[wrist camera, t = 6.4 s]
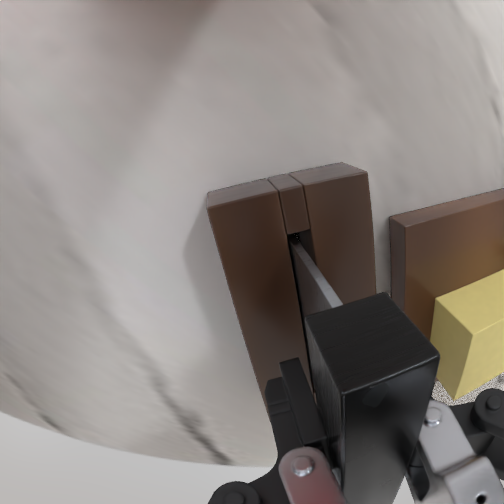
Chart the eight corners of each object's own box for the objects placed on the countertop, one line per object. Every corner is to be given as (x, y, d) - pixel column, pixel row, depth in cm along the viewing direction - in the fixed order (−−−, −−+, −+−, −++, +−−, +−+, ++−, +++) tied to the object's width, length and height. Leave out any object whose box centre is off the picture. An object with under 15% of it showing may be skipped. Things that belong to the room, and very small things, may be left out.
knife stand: (264, 392, 18) (270, 423, 16) (206, 192, 13) (206, 207, 11) (358, 364, 18) (374, 393, 16) (342, 161, 13) (368, 171, 11)
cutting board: (386, 384, 19) (395, 399, 18) (388, 216, 15) (404, 226, 13) (533, 310, 20) (543, 319, 18) (554, 175, 15) (569, 180, 14)
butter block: (425, 363, 17) (453, 401, 14) (434, 297, 15) (473, 334, 12) (501, 325, 17) (530, 353, 14) (515, 263, 15) (551, 288, 12)
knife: (292, 379, 16) (341, 528, 8) (258, 222, 13) (340, 394, 5) (327, 369, 17) (390, 510, 8) (306, 210, 13) (443, 354, 5)
